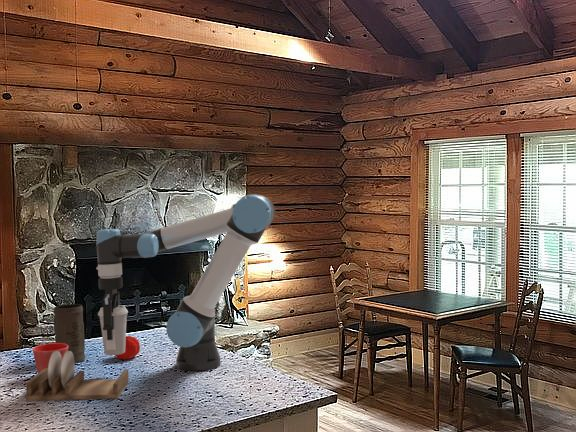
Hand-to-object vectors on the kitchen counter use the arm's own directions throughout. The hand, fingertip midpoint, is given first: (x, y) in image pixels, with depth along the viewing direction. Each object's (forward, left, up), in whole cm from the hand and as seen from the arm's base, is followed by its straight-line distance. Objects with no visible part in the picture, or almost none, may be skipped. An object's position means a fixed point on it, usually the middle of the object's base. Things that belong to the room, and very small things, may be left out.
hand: (113, 346), depth 205 cm
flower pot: (+21, -1, -10) cm, 23 cm away
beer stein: (+23, -22, -10) cm, 33 cm away
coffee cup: (0, -1, -2) cm, 2 cm away
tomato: (+1, -22, -10) cm, 24 cm away
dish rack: (+7, +16, -9) cm, 20 cm away
